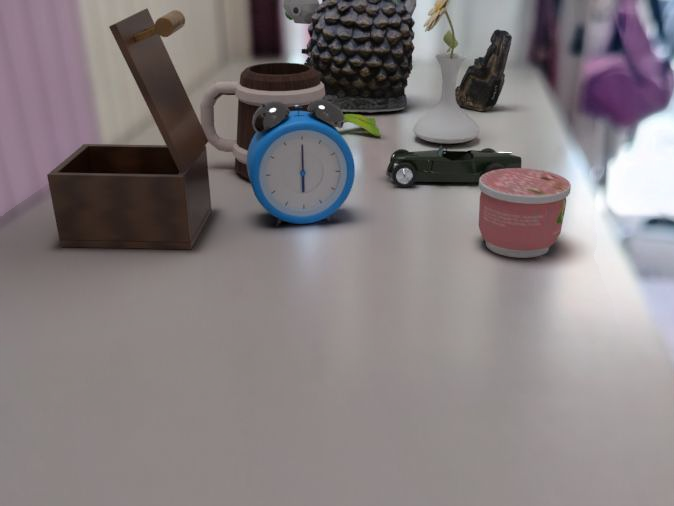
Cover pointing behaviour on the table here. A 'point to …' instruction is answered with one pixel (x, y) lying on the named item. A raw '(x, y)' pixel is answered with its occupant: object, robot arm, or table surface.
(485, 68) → the statue
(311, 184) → the alarm clock
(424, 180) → the toy car
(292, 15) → the robot
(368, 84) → the pine cone sculpture
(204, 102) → the mug
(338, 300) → the table surface
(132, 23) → the lid
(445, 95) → the flower in vase
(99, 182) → the chest
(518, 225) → the container
